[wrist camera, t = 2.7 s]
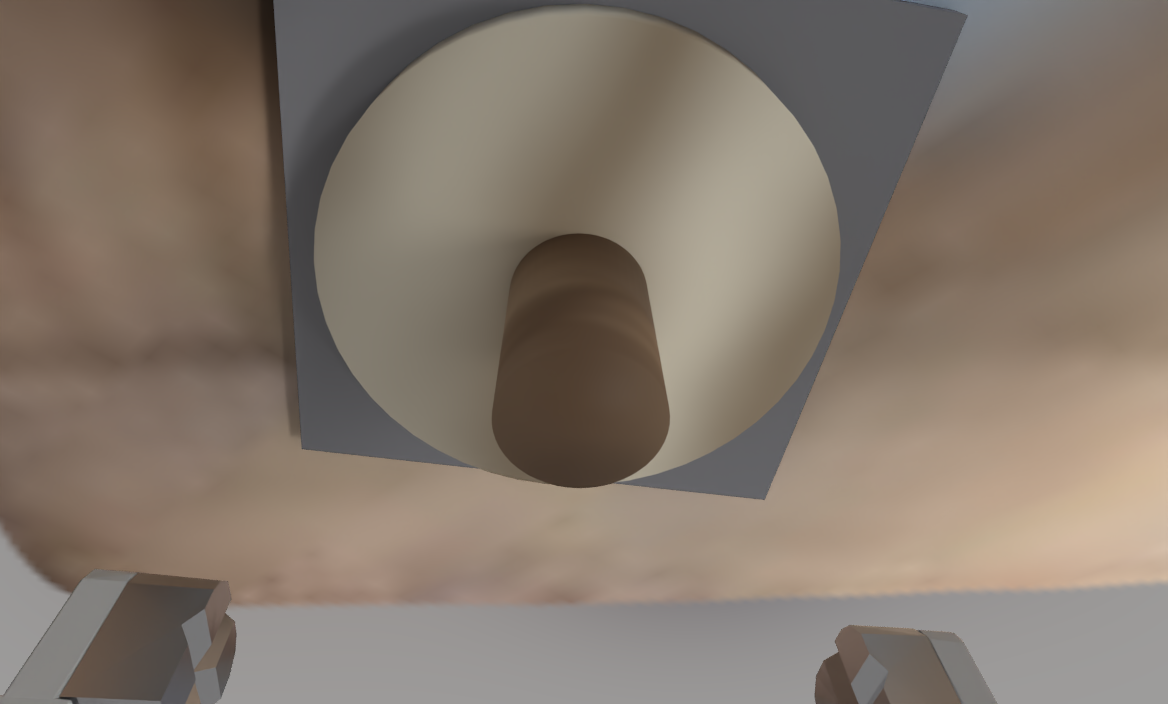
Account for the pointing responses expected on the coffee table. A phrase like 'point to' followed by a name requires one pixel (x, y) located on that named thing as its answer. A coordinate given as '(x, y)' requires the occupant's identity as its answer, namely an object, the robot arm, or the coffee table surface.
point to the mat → (701, 3)
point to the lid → (577, 246)
